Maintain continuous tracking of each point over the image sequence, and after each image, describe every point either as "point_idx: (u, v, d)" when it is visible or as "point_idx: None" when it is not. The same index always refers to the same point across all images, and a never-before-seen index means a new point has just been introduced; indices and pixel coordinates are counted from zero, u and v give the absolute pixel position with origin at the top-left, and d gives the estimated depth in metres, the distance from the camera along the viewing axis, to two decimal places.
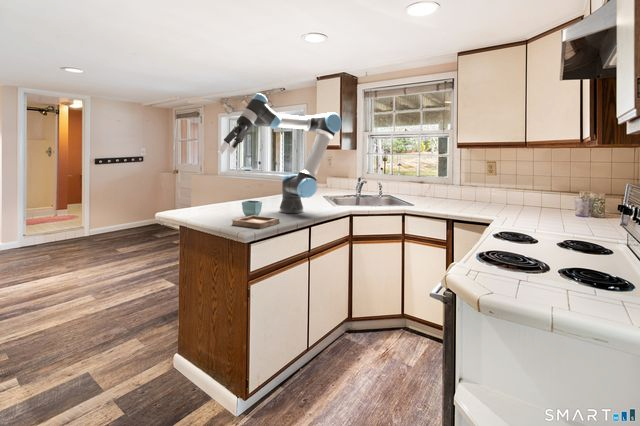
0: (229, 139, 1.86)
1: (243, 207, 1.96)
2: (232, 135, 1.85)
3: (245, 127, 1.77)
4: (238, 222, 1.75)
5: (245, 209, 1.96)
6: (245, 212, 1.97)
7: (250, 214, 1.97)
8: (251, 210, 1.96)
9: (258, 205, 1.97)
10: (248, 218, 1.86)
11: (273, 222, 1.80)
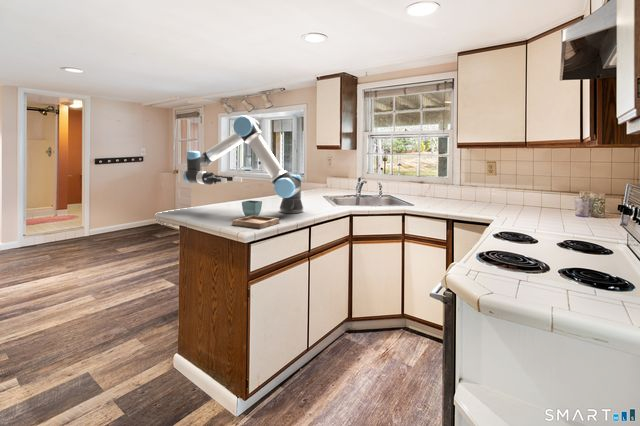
0: (229, 178, 2.11)
1: (243, 207, 1.96)
2: None
3: (205, 179, 2.03)
4: (238, 222, 1.75)
5: (245, 209, 1.96)
6: (245, 212, 1.97)
7: (250, 214, 1.97)
8: (251, 210, 1.96)
9: (258, 205, 1.97)
10: (248, 218, 1.86)
11: (273, 222, 1.80)
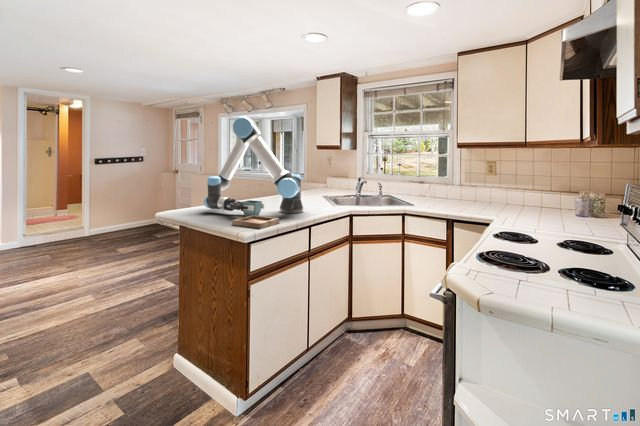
0: None
1: None
2: None
3: (228, 207, 1.98)
4: (238, 222, 1.75)
5: None
6: (245, 212, 1.97)
7: (250, 214, 1.97)
8: None
9: (258, 205, 1.97)
10: (248, 218, 1.86)
11: (273, 222, 1.80)
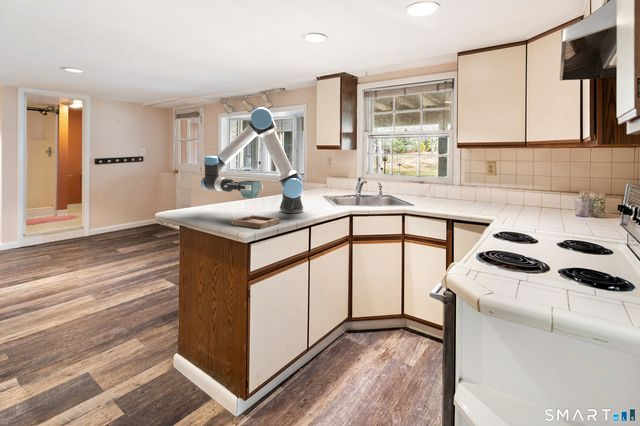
0: None
1: None
2: None
3: (225, 186, 1.88)
4: (238, 222, 1.75)
5: None
6: (242, 192, 1.87)
7: (248, 194, 1.86)
8: (248, 190, 1.85)
9: (256, 185, 1.87)
10: (248, 218, 1.86)
11: (273, 222, 1.80)
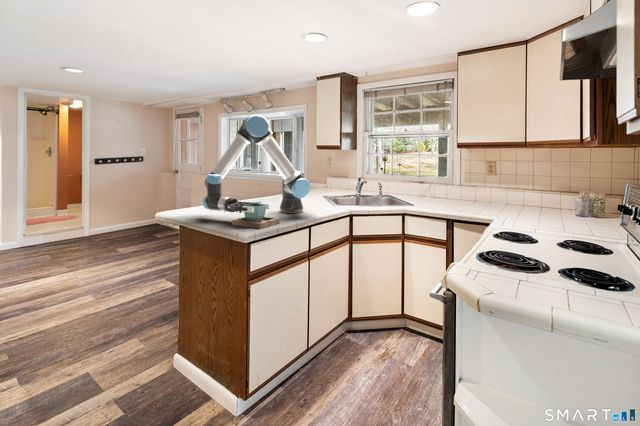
0: None
1: None
2: None
3: (228, 207, 1.79)
4: (238, 222, 1.75)
5: (247, 213, 1.77)
6: (247, 216, 1.77)
7: (252, 219, 1.77)
8: (253, 215, 1.76)
9: (261, 209, 1.77)
10: None
11: (273, 222, 1.80)
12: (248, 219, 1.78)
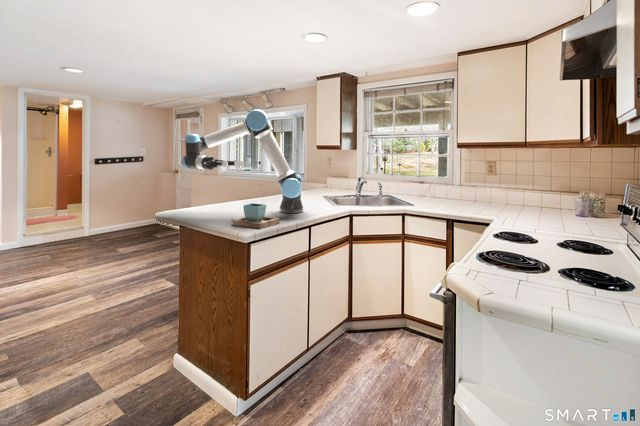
0: (230, 163, 1.97)
1: (245, 211, 1.77)
2: None
3: (204, 163, 1.89)
4: (238, 222, 1.75)
5: (247, 213, 1.77)
6: (247, 216, 1.77)
7: (252, 219, 1.77)
8: (253, 215, 1.76)
9: (261, 209, 1.77)
10: None
11: (273, 222, 1.80)
12: (248, 219, 1.78)
